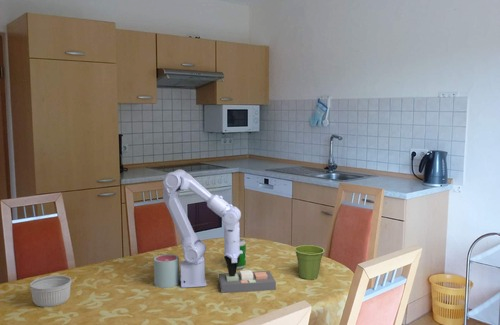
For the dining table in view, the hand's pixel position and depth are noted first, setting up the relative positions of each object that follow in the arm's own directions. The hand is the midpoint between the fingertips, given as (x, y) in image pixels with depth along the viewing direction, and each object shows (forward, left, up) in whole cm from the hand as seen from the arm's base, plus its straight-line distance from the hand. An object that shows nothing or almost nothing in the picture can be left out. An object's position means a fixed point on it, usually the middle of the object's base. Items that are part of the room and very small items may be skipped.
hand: (232, 275), depth 172 cm
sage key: (0, 0, -4) cm, 4 cm away
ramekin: (-63, -3, -4) cm, 64 cm away
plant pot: (+32, +5, -4) cm, 32 cm away
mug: (-23, +9, -4) cm, 26 cm away
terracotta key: (+11, 0, -4) cm, 12 cm away
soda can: (+5, +20, -4) cm, 21 cm away
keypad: (+6, 0, -4) cm, 7 cm away
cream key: (+6, 0, -3) cm, 6 cm away
